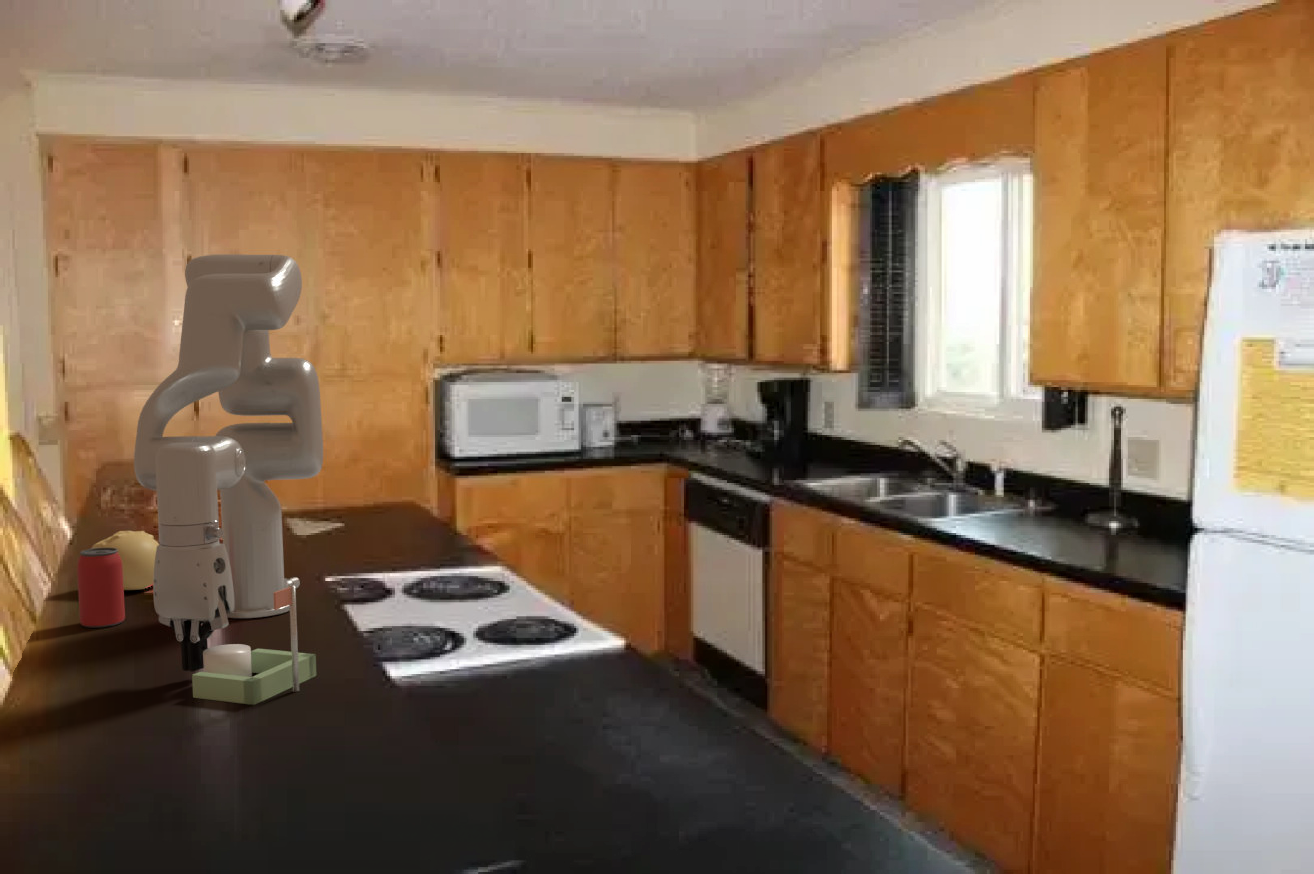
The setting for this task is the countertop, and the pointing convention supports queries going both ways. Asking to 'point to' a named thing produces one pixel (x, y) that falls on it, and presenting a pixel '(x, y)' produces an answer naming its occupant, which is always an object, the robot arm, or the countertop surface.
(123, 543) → the sculpture
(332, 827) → the countertop surface
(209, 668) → the white domed cylinder
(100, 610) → the beer can
